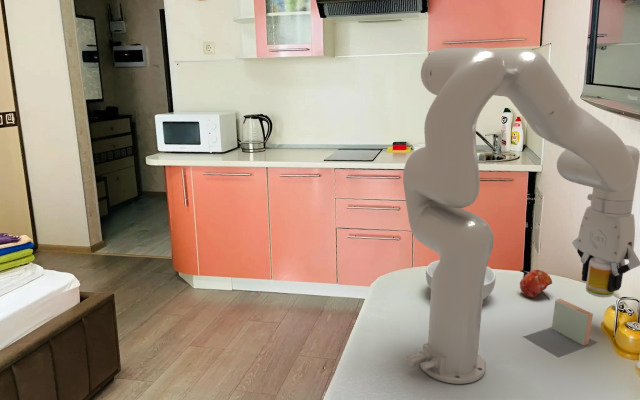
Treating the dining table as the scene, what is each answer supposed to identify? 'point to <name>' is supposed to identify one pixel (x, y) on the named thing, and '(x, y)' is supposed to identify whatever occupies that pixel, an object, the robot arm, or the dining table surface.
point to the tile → (572, 321)
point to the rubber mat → (556, 342)
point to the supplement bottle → (598, 277)
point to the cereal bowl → (488, 280)
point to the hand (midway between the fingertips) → (600, 284)
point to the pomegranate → (534, 283)
